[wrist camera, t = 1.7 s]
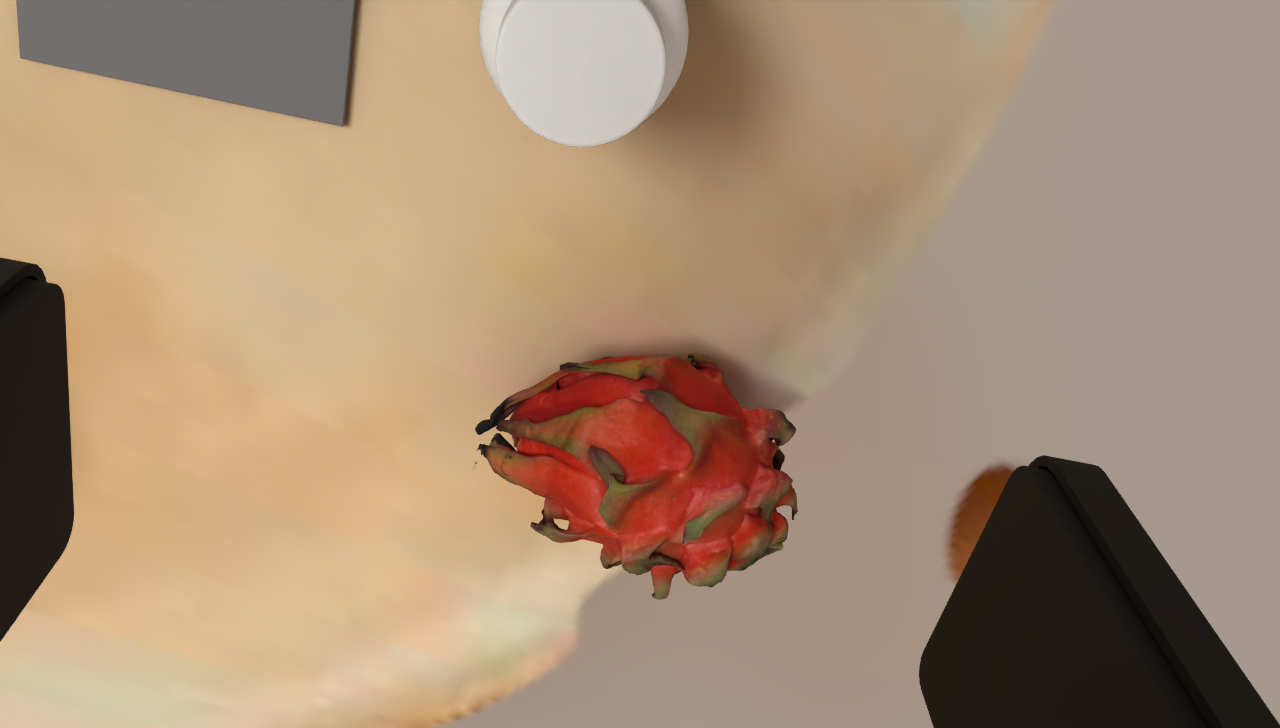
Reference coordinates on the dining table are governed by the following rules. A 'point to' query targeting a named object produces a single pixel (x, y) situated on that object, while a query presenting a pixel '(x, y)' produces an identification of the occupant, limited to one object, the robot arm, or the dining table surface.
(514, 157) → the dining table surface
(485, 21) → the supplement bottle
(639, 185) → the dining table surface
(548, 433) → the dragon fruit
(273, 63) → the mat
